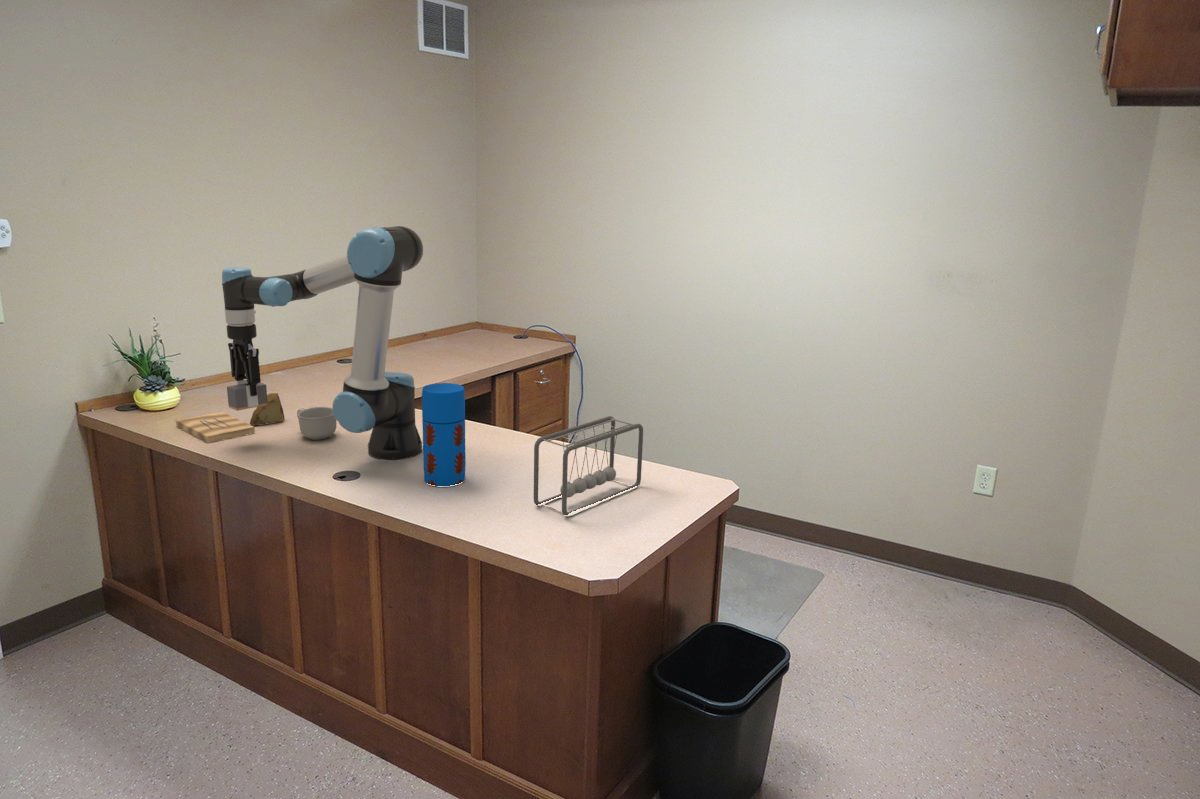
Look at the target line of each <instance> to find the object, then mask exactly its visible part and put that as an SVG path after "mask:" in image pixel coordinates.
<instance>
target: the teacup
mask: <svg viewBox="0 0 1200 799" xmlns="http://www.w3.org/2000/svg"><path fill="white" fill-rule="evenodd" d="M296 415H297V419H298V424H299V430H300V433H301V435H302V436H304V437H306V438H307V439H309V440H312V441H319V440H321V441H322V440H325V439H328V438H330V437H332V435H333V434H334V433H335V432H336V430H337V420H336V418H335V416H334V413H333V407H331V406H330V407H329V406H314V407H309V408H308V407H307V408H299V409H298V410H297V413H296Z"/></svg>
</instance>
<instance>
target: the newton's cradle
mask: <svg viewBox="0 0 1200 799" xmlns="http://www.w3.org/2000/svg"><path fill="white" fill-rule="evenodd" d="M616 422H618V423H623V424H626V425H624V426H620V427H616ZM609 423H610V425H609ZM606 424H607V426H608V427H610V430H606V429H605V426H606ZM604 425H605V426H604ZM600 426H603V429H604V431H603V429H601V428H599V427H600ZM592 428H593V430H595V429H598V430H602V431H603V432H601V433H599V434H598V433H595V431H593V432H592V431H588V430H589V429H592ZM636 429H638V441H637V442H638V443H637V444H638V445H637V446H638V447H637V463H636V464H637V465H636V479H635V480H636V481H635V483H634V484H631V485H632V486H627V487H625V488H623V489H620V490H618V491H616V492H613V493H611V494H608V495H606V496H603V497H602V498H599V499H596V500H594V501H592V502H590V503H587V504H585V505H582V506H579V507H577V508H575V509H573V511H576V510H577V509H580V508H583V507H586V506H588V505H591V504H594V503H596V502H598V501H602V500H603V499H606V498H608V497H611V496H613V495H616V494H618V493H620V492H623V491H625V490H628V489H630V488H633V487H635V486H638V485H639V486H640V485H641V481H642V470H643V468H642V464H643V462H642V461H643V445H644V427H643V426H642V424H640V423H635V424H634V423H630V422H627V421H624V420H623V421H622V420H619V419H616V418H614V417H613V416H612V415H611V416H610V415H609V416H604V417H602V418H601V417H600V418H598V419H595V420H591V421H588V422H586V423H585V422H584V423H582V424H579V425H576V426H573V427H569V428H566V429H563V430H560V431H556V432H554V433H549V434H546V435H543V436H540V437H538V439H536V441H535V443H534V446H533V447H534V448H533V503H534V504H536V505H538V504H541V503H543V502H546V501H549V500H551V499H554V498H556V497H559V496H561V495H562V498H561V511H562V513H561V514H562V515H563V516H564V515H568V514H569V513H571V512H572V510H570V511H569V512H568V511H567V510H568V509H567V508H568V507H567V502H568V498H573V496H574V495H575V494H582V493H584V492H585V491H586V490H587V489H588V490H591V489H594V488H595V487H596V486H601V485H604V484H605V483H606V482H612V481H613V480H616V481H618V479H615V478H616V476H617V471H616V470H615V468H614V467H615V466H614V464H615V463H614V462H615V447H616V442H617V437H618V436H619V435H621V434H624V433H628V432H630V431H634V430H636ZM579 432H583V433H585V432H587V433H590V434H591V433H592V434H593V436H589V437H586V436H585V434H583V435H580V434H577V433H579ZM570 435H572V437H573V438H575V435H576V436H580V437H583V439H580V440H578V441H577V440H575V439H571V438H568V437H566V436H570ZM561 438H562V439H564V438H565V439H568V440H572V441H573V442H570V443H568V444H565V443H564V440H562V443H558V442H556V441H554V440H557V439H561ZM608 439H610V441H609V442H610V444H609V445H610V446H609V460H608V457H606V463H607V466H606V467H604V468H603V463H604V462H603V461H604V457H605V454H606V456H608V451H607V450H608V449H607V442H608ZM601 441H604V450H603V456H602V460H601V465H600V468H599V466H597V470H596V471H594V472H593V467H594V462H595V461H594V460H595V457H596V456H598V451H597V447H598V442H601ZM542 442H547V443H550V444H554V445H557V446H560V447H563V448H565V449H564V450H563V454H562V478H561V479H562V484H561V486H560V488H559V490H560V493H559V494H556V495H554V496H551V497H549V498H546V499H543V500H541V501H539V469H540V466H539V464H540V445H541V443H542ZM592 444H595V450H594V455H593V461H592V465H591V470H590V471H589V469H587V474H586V475H584V476H583V469H584V464H585V460H586V459H588V454H587V452H588V451H587V448H588V446H589V445H592ZM582 447H584V448H585V453H584V458H583V461H582V462H583V463H582V468H581V474H580V476H579V474H577V477H576V478H575V479H574V480H573V481H572V482H571V478H572V474H573V469H574V463H575V461H576V464H578V460H577V459H578V458H577V457H576V456H577V450H578V449H579V448H582ZM571 451H574V452H575V453H574V456H573V461H572V462H573V463H572V467H571V471H570V476H569V480H568V470H569V469H568V465H569V462H568V461H569V460H568V459H569V454H570V452H571ZM605 452H606V453H605ZM588 461H589V460H586V466H587V467H589V463H588ZM596 464H597V465H599V461H598V457H596ZM578 466H579V465H576V470H577V472H579V468H578ZM602 468H603V469H602ZM592 472H593V473H592ZM582 476H583V478H582ZM616 481H615V482H616ZM639 486H638V487H639ZM575 492H576V493H575ZM536 505H535V506H536Z"/></svg>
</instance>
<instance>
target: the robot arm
mask: <svg viewBox="0 0 1200 799" xmlns="http://www.w3.org/2000/svg"><path fill="white" fill-rule="evenodd" d="M346 250H347V251H346V254H345V255H341V256H339V257H336V258H334V259H331V260H328V261H325V262H322V263H319V264H317V265H314V266H311V267H308V268H306V269H303V270H300V271H298V272H294V273H290V274H288V273H287V274H281V275H275V276H273V275H272V276H253V274H252V269H251V268H249V267H245V266H238V267H237V266H236V267H235V266H234V267H233V266H231V267H226V268H223V269H222V270H221V285H222V293H223V303H224V314H225V315H224V317H225V323H226V324H227V325H226V334H227V339H229V340H232V342H228V343H227V345H228V346H227V347H228V350H229V358H230V359H229V360H230V371H231V377H232V378H234V380H235V381H236V382H235V383H236V385H240V384H245V385H246V392H247V403H248V407H249V409H251V408H250V407H254V408H257V407H256V406H258V395H257V384H258V383H260V382H261V371H260V370H261V369H260V360H259V355H260V349H259V348H255V347H254V344H253V339H255V338H257V336H258V335H257V325H256V324H255V322H256V312H257V311H256V310H255V305H259V306H260V305H261V306H267V307H269V306H270V307H273V308H274V307H284V306H286V305H288V303H290V302H295V301H299V300H308V299H311V298H314V297H317V296H318V295H319V294H322V293H325V292H327V291H330V290H333V289H337V288H340V287H343V286H345V285H349V284H352V283H357V284H358V286H359V287H358V295H357V296H358V297H357V305H356V306H357V307H356V317H355V327H354V328H355V329H354V336H353V346H352V348H353V349H352V356H351V357H352V358H351V369H350V373H349V374H347V375H346V376H345V377H344V378H343V386H342V392H339V393H338V394H337V395H336V396H335V397H334V399H333V401H332V408H333V413H334V416H335V418H336V422H337V423H338V424H339V425H340V426H341V428H343V429H344V430H345V431H347V432H349V433H353V434H354V433H355V434H361V433H364V432H369V431H371V434H370V437H369V441H368V444H367V452H368V455H370V456H371V457H373V458H376V459H381V460H403V459H407V458H412V457H415V456H418V455H420V454H421V452H422V453H423V440H422V439H421V436H420V434H419V431H418V428H417V426H416V405H415V404H416V403H415V401H416V398H415V396H416V395H415V391H416V390H415V389H416V387H415V379H414V377H413V375H411V374H409V373H405V372H397V371H386V365H387V354H388V347H389V337H390V328H391V319H392V310H393V303H394V302H393V301H394V292H395V290H396V289H398V288H399V287H400V286H401V285H402V278H403V277H402V276H403V272H407V271H409V270H412V269H414V268H416V266H418V264H419V263H420V262H421V260H422V259H423V255H424V245H423V241H422V240H421V237H420V236H419V234H417V233H416V232H415V231H414V230H412V229H411V228H409V227H406V226H402V225H401V226H399V225H396V226H388V227H387V226H386V227H377V226H376V227H369V228H366V229H363V230H359V231H358V232H357V233H356V234H354V235H353V236H352V238H351V239H350V241H349V243H348V246H347V249H346ZM246 383H247V384H246ZM261 383H262V382H261Z"/></svg>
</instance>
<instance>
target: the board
mask: <svg viewBox="0 0 1200 799" xmlns="http://www.w3.org/2000/svg"><path fill="white" fill-rule="evenodd" d="M175 424H176V427H177V428H178V427H179V428H178V429H180V428H181V430H182V429H183V430H182V431H184V432H186V433H188V434H189V435H192V436H194V437H195V436H196V437H195V438H197V437H198V438H197V439H200V440H201V441H203V442H205V443H207V444H210V443H211V444H212V443H215V441H216V442H220V440H221V441H224V440H223V439H226V440H229V439H228V438H230V439H233V438H232V437H235V438H238V437H237V436H240V437H242V436H241V435H244V436H247V435H246V434H249V435H251V434H250V433H254V432H255V433H256V428H255V426H251V424H250V423H247V422H245V421H242V420H240V419H238V418H236V417H233V416H232V415H230V414H228V413H225V412H223V411H219V412H218V411H217V412H212V413H208V414H203V415H197V416H191V417H187V418H181V419H175ZM255 433H254V434H255Z"/></svg>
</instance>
